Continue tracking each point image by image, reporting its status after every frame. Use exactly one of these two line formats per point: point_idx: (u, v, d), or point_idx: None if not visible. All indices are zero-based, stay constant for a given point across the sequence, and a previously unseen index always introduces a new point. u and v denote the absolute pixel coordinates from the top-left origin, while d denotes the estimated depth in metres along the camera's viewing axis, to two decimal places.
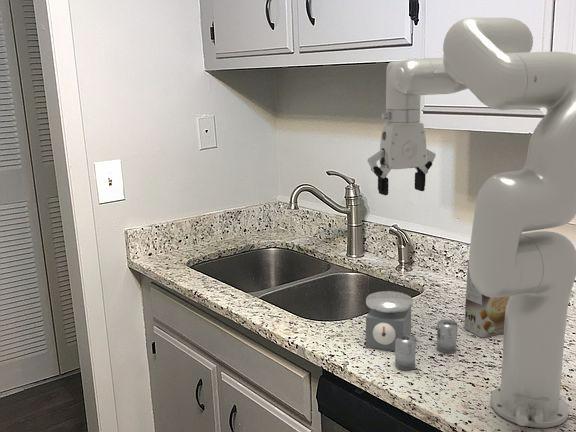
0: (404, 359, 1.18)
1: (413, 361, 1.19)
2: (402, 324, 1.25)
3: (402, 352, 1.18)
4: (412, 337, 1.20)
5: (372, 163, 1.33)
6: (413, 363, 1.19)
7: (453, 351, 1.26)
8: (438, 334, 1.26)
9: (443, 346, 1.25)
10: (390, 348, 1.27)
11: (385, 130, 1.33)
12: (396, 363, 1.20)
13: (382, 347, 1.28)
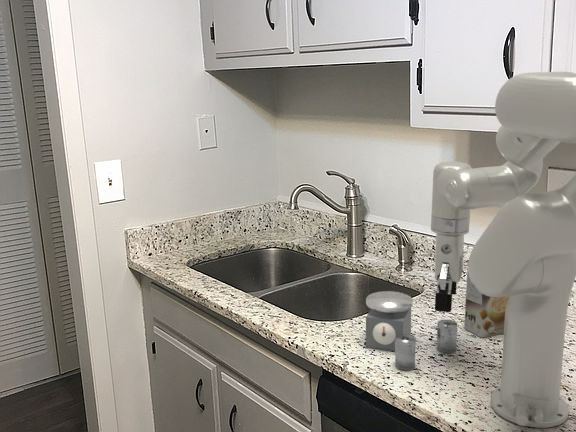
0: (404, 358, 1.18)
1: (413, 361, 1.19)
2: (402, 324, 1.25)
3: (402, 352, 1.18)
4: (412, 337, 1.20)
5: (445, 282, 1.16)
6: (413, 363, 1.19)
7: (453, 351, 1.26)
8: (438, 334, 1.26)
9: (443, 346, 1.25)
10: (390, 348, 1.27)
11: (448, 242, 1.18)
12: (396, 363, 1.20)
13: (382, 347, 1.28)
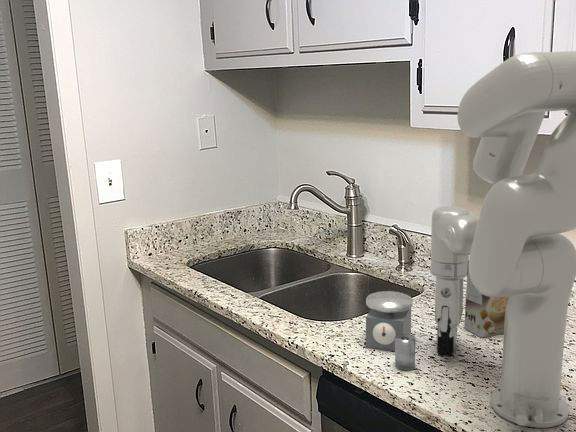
0: (403, 359, 1.18)
1: (413, 361, 1.19)
2: (402, 324, 1.25)
3: (402, 352, 1.18)
4: (412, 337, 1.20)
5: (447, 331, 1.20)
6: (413, 363, 1.19)
7: (453, 351, 1.26)
8: None
9: None
10: (390, 348, 1.27)
11: (447, 286, 1.19)
12: (396, 363, 1.20)
13: (382, 347, 1.28)
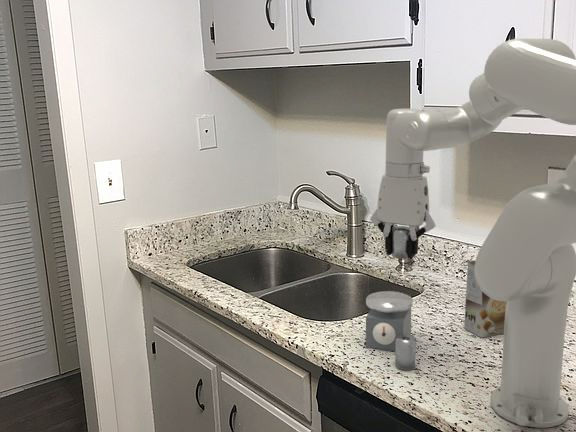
0: (404, 359, 1.18)
1: (413, 361, 1.19)
2: (402, 324, 1.25)
3: (402, 352, 1.18)
4: (413, 337, 1.20)
5: None
6: (413, 363, 1.19)
7: None
8: (404, 241, 1.25)
9: None
10: (390, 348, 1.27)
11: (426, 184, 1.21)
12: (396, 363, 1.20)
13: (382, 347, 1.28)
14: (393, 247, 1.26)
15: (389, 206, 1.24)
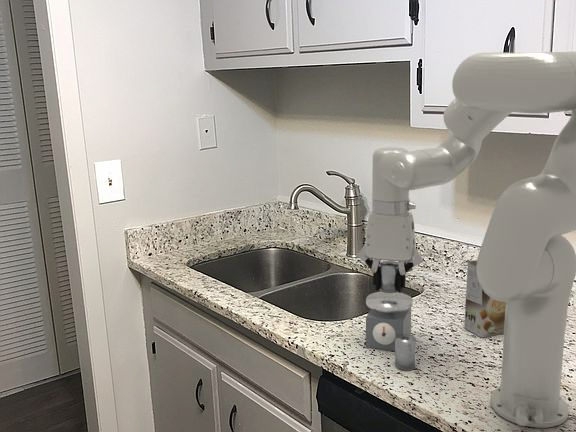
0: (403, 358, 1.18)
1: (413, 361, 1.19)
2: (402, 324, 1.25)
3: (402, 351, 1.18)
4: (412, 337, 1.20)
5: None
6: (413, 363, 1.19)
7: None
8: (393, 276, 1.27)
9: None
10: (390, 348, 1.27)
11: (412, 220, 1.25)
12: (395, 363, 1.20)
13: (382, 347, 1.28)
14: (382, 282, 1.28)
15: (378, 243, 1.26)
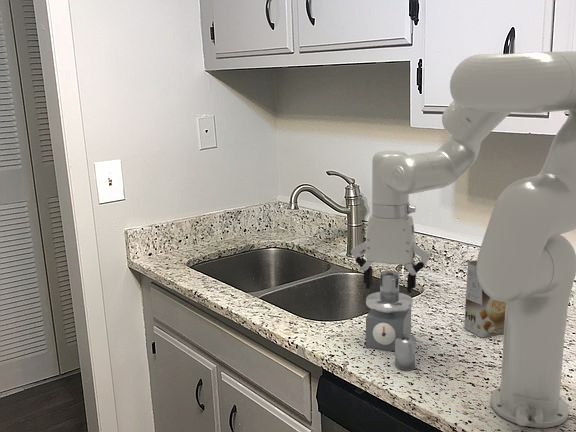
0: (403, 359, 1.18)
1: (412, 361, 1.19)
2: (402, 324, 1.25)
3: (401, 352, 1.18)
4: (412, 337, 1.20)
5: None
6: (413, 363, 1.19)
7: None
8: (393, 286, 1.28)
9: (398, 294, 1.29)
10: (390, 348, 1.27)
11: (412, 223, 1.25)
12: (395, 363, 1.20)
13: (382, 347, 1.28)
14: (382, 292, 1.29)
15: (378, 246, 1.26)
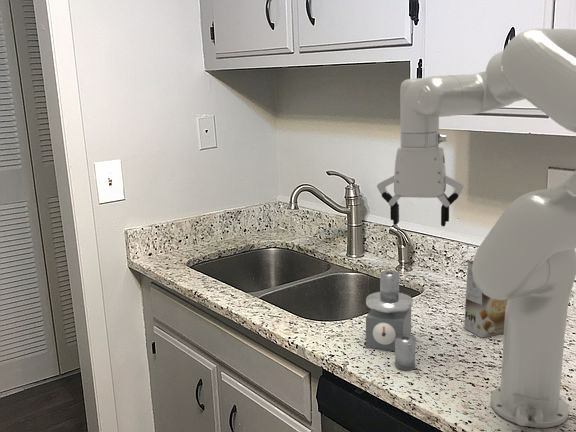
0: (403, 358, 1.18)
1: (412, 361, 1.19)
2: (402, 324, 1.25)
3: (401, 351, 1.18)
4: (412, 337, 1.20)
5: None
6: (413, 363, 1.19)
7: None
8: (393, 286, 1.28)
9: (398, 294, 1.29)
10: (390, 348, 1.27)
11: (443, 153, 1.20)
12: (395, 363, 1.20)
13: (382, 347, 1.28)
14: (382, 292, 1.29)
15: (407, 179, 1.20)
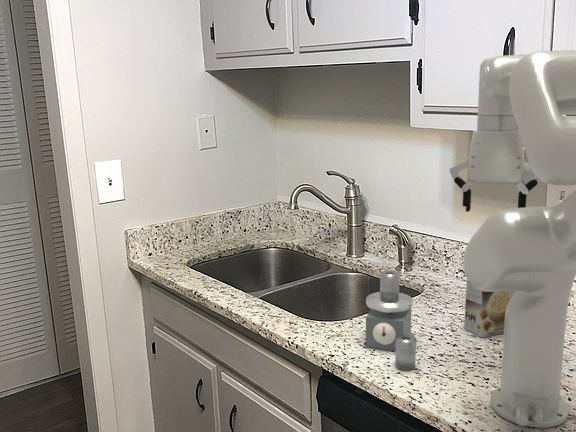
0: (403, 358, 1.18)
1: (412, 361, 1.19)
2: (402, 324, 1.25)
3: (402, 351, 1.18)
4: (413, 337, 1.20)
5: None
6: (413, 363, 1.19)
7: None
8: (393, 286, 1.28)
9: (398, 294, 1.29)
10: (390, 348, 1.27)
11: None
12: (395, 362, 1.20)
13: (382, 347, 1.28)
14: (382, 292, 1.29)
15: (484, 164, 1.15)
